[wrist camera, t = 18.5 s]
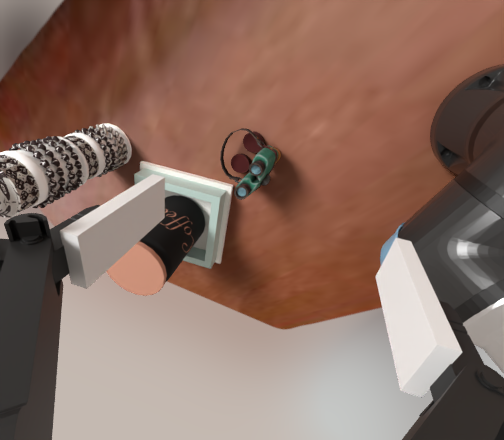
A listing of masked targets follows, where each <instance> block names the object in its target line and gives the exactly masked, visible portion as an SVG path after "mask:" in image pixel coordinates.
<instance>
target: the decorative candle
mask: <svg viewBox="0 0 504 440" xmlns="http://www.w3.org/2000/svg"><path fill="white" fill-rule="evenodd" d="M19 148H20V150H17V149H19ZM131 155H132V147H131V144H130V141H129V139H128V137H127V136H126V134H125V133H124V132H123V131H122V130H121V129H120V128H119V127H117V126H115V125H112V124H110V123H107V124H101V125H96V128H93V127H92V126H90V127H89V129H86V128H83V129H82V130H81V131H80V130H75V133H71V134H68V135H66V136H65V137H56V136H53V137H49V136H48V137H46V138H44V139H37V140H36V141H34V140H33V141H31V142H30V141H25V142H24V143H19V144H17V143H15V144H13V146H12V148H10V149H9V151H4V152H1V153H0V216H2V217H14V216H15V215H17V214H18V213H19V212H20V211H22V210H24V209H27V208H29V207H33V208H38V206H40V207H41V208H44V207H45V206H46V205H47V204H51V203H53V202H54V200H58V199H60V197H63V196H64V195H65V193H71V190H76V189H77V188H79V186H81V185H83V184H84V183H86V181H87V180H88V179H92V178H94V177H96V176H97V177H101V176H102V174H107V172H110V171H114V170H115V169H118V168H119V167H120V166H123V165H124V164H126V163H128V162H129V160H130V158H131ZM64 189H65V190H64ZM47 197H48V198H47Z"/></svg>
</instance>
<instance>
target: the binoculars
mask: <svg viewBox="0 0 504 440" xmlns="http://www.w3.org/2000/svg"><path fill="white" fill-rule="evenodd" d="M239 130H246V131H248V132H249V133H248V134H246V135H245V137H244V139H243V144H244V147H245V148H246V149H247V150H248V151H250V152H258V153H257V154H256V156H255V157H254V159H253V161H252V164H251V162H250V160H249V158H248V157H247V156H246V155H245V154H237V155H235V156H234V157H233V158H232V160H231V166H232V168H233V170H235V171H236V172H239V173H244V172H247V171H250V172H249V173H248V174H247V175H246V176H245V177H244V178H243V179H241V178H240V177H234V176H232V175H230V174H229V173H228V171H227V169H226V168H225V165H224V160H223V154H224V148H225V145H226V143H227V140H228V138H229V137H230V136H231V135H232V134H233V133H234V132H236V131H234V132H231V133H230V134H229V136H228V137H227V138H226V139H225V141H224V144H223V146H222V150H221V157H220V160H221V165H222V169H223V171H224V172H225V174H226V175H227V176H228V177H229V178H230V179H233V180H235V182H237V183H239V184H238V185H237V186H236V188H235V190H234V195H235V197H236V198H237V199H240V200H242V199H245V198H246V197H247V196H249V195H250V194H251V193H252V192H254V191H255V190H257V189H258V188H260V186H261V185H267V184H268V183H269V181H270V176H269V174H270V172H271V171H272V170H273V168H274V166H275V164H276V162H278V160H279V159H280V157H281V153H280V151H279V150H278V149H277V148H274V147H272V146H269V145H268V146H265V144H264V141H263V138H262V136H261V135H260V134H259V133H258V132H252V131H250V130H249V129H239ZM239 130H237V131H239ZM260 150H261V151H260ZM259 151H260V152H259ZM239 179H241V181H240V182H238V180H239Z"/></svg>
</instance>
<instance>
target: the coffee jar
mask: <svg viewBox="0 0 504 440" xmlns="http://www.w3.org/2000/svg"><path fill="white" fill-rule="evenodd" d="M204 229H205V217H204V215H203V212H202V210H201V208H200V207H199V206H198V205H197V204H196V203H195V202H194V201H192V200H191V199H189V198H186V197H184V196H176V195H173V196H169V197H166V198H165V218H164V219H163V220H162V221H160V222H159V223H158V224H157V225H156V226H155V227H154V228H153V229H152V230H151V231H150V232H148V233H147V234H146V235H145V236H144V237H143V238H142V239H141V240H140V241H139V242H138V243H136V244H135V245H134V246H133V247H132V248H131V249H130V250H129V251H128V252H127V253H126V254H124V255H123V256H122V257H121V258H120V259H119V260H118V261H117V262H116V263H115V264H113V265H112V266H111V267H110V268H109V269H108V270H107V273H108V275H109V276H110V278H111V279H112V280H114V282H115V283H117V284H118V285H119V286H120V287H122V288H123V289H125V290H127V291H129V292H131V293H134V294H137V295H143V296H147V295H153V294H155V293H157V292H159V291H160V290H161V288H162V287H163V285H164V284H165V282H166V281H167V280H168V279H169V278H170V277H171V275H172V274H173V273H174V271H175V270H176V269H177V267H178V266H179V264H180V263H181V262H182V260H183V259H184V258H185V256H186V255H187V254H188V252H189V251H190V250H191V248H192V247H193V246H194V244H195V243H196V242H197V240H198V239H199V238H200V236H201V235H202V233H203V232H204Z"/></svg>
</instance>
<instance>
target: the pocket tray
mask: <svg viewBox="0 0 504 440" xmlns="http://www.w3.org/2000/svg"><path fill="white" fill-rule="evenodd" d="M152 174H154V175H158V176H162V177H165V198H166V197H169V196H173V195H176V196H184V197H186V198H189V199H191V200H192V201H194V202H195V203H196V204H197V205H198V206H199V207H200V208H201V210H202V212H203V215H204V217H205V229H204V232H203V233H202V235H201V236H200V238H199V239H198V240H197V242H196V243H195V244H194V246H193V247H192V248H191V250H190V251H189V252H188V254H187V255H186V256H185V258H184V259H183V261H187V262H190V263H193V264H196V265H200V266H203V267H206V268H210V269H211V267H212V266H213V264H214V262H216V263H219V264H220V263H221V261H222V255H223V248H224V242H225V236H226V229H227V223H228V217H229V210H230V204H231V198H232V191H233V185H232V184H228V183H224V182H220V181H217V180H213V179H209V178H205V177H202V176H198V175H194V174H191V173H187V172H183V171H179V170H176V169H172V168H168V167H164V166H161V165H157V164H153V163H149V162H146V161H141V162H140V171H139V172H137V173H135V174H134V181H135V185H136V184H137V183H139V182H141V181H142V180H144V179H146V178H147V177H149V176H150V175H152Z"/></svg>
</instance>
